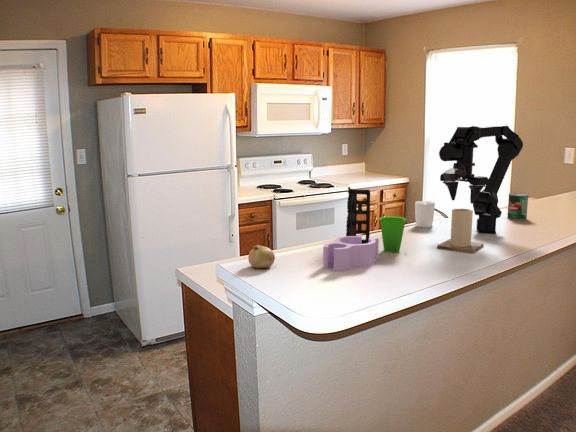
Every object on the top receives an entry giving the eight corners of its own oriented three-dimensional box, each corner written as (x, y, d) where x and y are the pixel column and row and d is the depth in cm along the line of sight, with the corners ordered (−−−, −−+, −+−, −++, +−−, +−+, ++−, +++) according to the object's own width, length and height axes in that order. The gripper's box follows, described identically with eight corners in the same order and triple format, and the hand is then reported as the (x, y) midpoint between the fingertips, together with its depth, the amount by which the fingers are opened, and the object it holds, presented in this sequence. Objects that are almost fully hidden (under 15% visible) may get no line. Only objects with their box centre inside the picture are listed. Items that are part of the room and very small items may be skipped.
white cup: (432, 224, 216) (433, 201, 215) (435, 228, 209) (436, 204, 207) (413, 224, 217) (413, 200, 215) (415, 227, 209) (416, 203, 208)
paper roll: (454, 241, 181) (456, 208, 179) (472, 243, 177) (474, 209, 175) (448, 244, 176) (450, 210, 174) (466, 247, 172) (468, 212, 170)
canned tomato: (527, 218, 228) (529, 193, 226) (525, 221, 222) (527, 195, 220) (508, 216, 233) (510, 192, 231) (505, 219, 226) (507, 194, 224)
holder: (375, 244, 182) (377, 188, 179) (363, 248, 177) (364, 190, 173) (350, 239, 190) (350, 186, 186) (338, 243, 184) (338, 188, 181)
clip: (346, 274, 147) (346, 251, 146) (313, 266, 156) (313, 244, 154) (385, 260, 161) (385, 239, 160) (353, 254, 170) (353, 233, 169)
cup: (406, 248, 176) (407, 217, 174) (403, 255, 167) (404, 222, 165) (380, 246, 179) (381, 215, 177) (376, 252, 170) (377, 220, 168)
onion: (261, 262, 161) (260, 240, 159) (280, 266, 156) (280, 243, 154) (243, 267, 154) (242, 245, 153) (262, 272, 149) (262, 249, 148)
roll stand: (449, 241, 185) (450, 226, 184) (483, 246, 178) (484, 230, 177) (437, 248, 176) (437, 232, 175) (472, 253, 169) (473, 237, 168)
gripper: (430, 159, 194) (428, 200, 197) (468, 162, 178) (466, 207, 181) (451, 158, 199) (449, 198, 202) (491, 161, 183) (488, 204, 186)
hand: (462, 201), depth 192 cm, fingers open, 9 cm apart
